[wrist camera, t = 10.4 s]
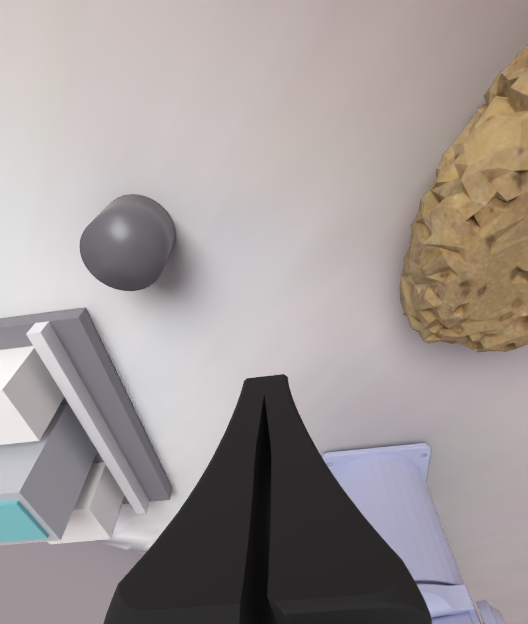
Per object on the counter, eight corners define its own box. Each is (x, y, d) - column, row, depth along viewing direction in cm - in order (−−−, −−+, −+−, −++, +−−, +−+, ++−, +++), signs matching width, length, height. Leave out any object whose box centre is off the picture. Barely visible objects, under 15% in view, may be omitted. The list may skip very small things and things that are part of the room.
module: (96, 452, 28) (59, 543, 22) (43, 457, 28) (-6, 549, 23) (67, 404, 25) (17, 495, 20) (8, 410, 25) (-56, 502, 20)
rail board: (172, 487, 32) (160, 545, 28) (45, 499, 33) (18, 557, 29) (85, 307, 22) (49, 359, 18) (-94, 330, 23) (-163, 385, 19)
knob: (183, 256, 20) (173, 285, 18) (118, 266, 21) (98, 295, 18) (163, 188, 18) (149, 210, 16) (91, 200, 19) (65, 222, 16)
